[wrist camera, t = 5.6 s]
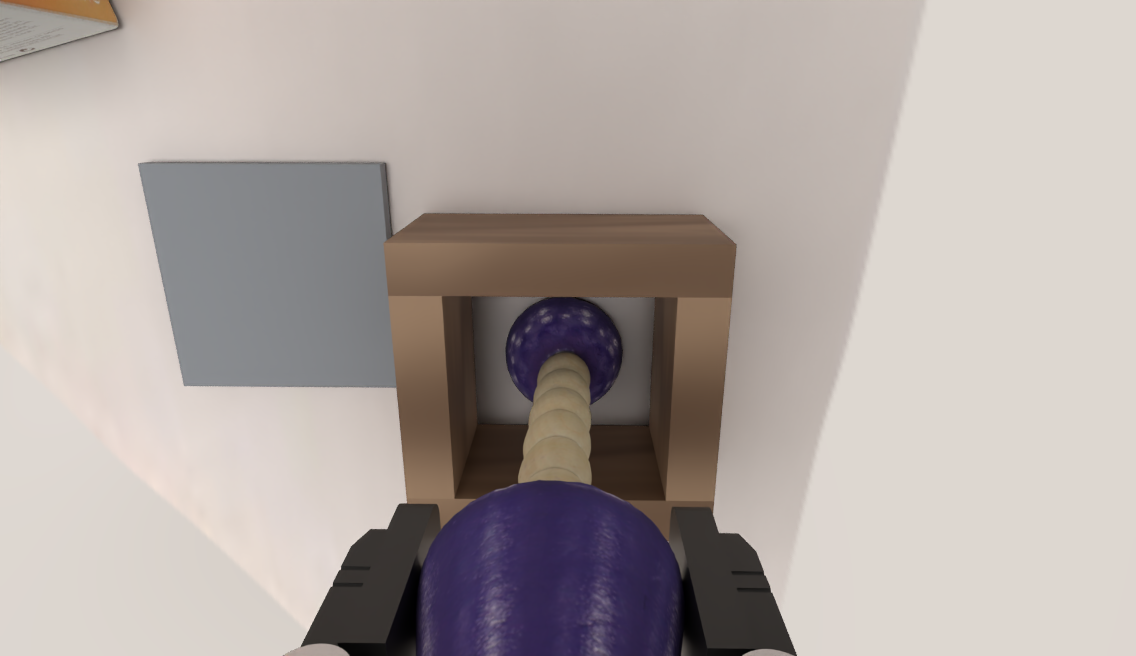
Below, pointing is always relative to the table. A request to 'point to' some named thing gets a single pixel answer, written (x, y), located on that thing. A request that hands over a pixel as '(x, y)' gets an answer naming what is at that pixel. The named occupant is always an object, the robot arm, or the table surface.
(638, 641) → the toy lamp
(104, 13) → the small box
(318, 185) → the slate pad
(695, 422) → the wooden cube shelf
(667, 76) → the table surface
